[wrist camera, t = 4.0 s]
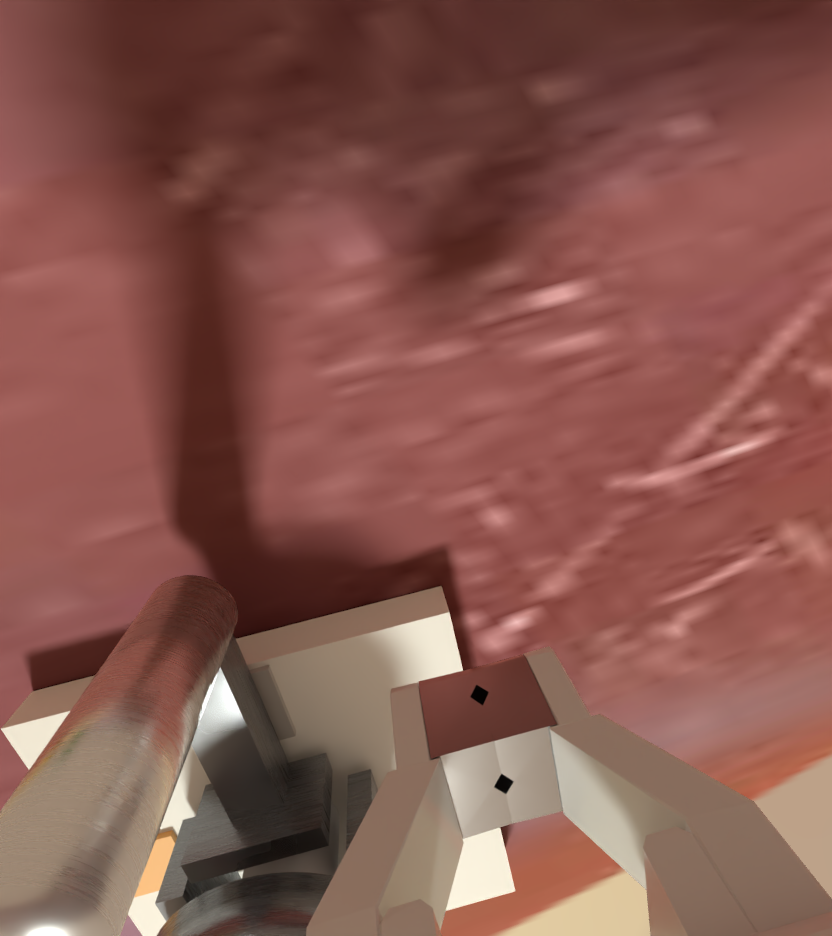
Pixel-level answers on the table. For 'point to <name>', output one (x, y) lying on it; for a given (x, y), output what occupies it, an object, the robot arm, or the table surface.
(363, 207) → the table surface
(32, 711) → the post base
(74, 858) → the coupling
